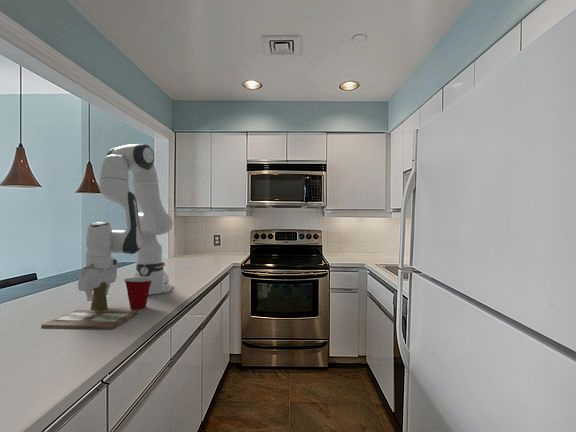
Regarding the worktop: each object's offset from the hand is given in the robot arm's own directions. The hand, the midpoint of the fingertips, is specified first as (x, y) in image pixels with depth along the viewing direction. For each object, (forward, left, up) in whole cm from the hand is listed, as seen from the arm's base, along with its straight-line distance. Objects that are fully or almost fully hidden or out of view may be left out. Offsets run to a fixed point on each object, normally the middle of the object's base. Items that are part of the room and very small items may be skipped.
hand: (97, 297), depth 138 cm
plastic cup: (-4, +14, -5) cm, 16 cm away
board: (+14, +6, -5) cm, 16 cm away
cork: (0, 0, -5) cm, 5 cm away
